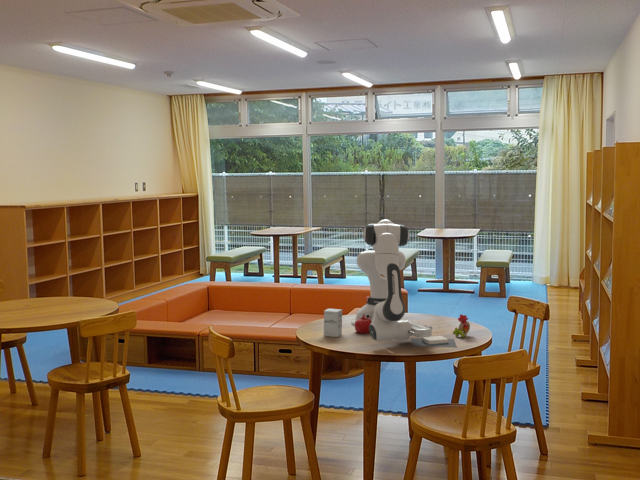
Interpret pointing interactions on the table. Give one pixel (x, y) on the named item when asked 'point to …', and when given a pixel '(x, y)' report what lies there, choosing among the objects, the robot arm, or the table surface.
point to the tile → (434, 340)
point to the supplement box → (333, 322)
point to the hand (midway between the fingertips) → (430, 327)
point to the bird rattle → (462, 326)
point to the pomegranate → (363, 325)
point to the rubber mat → (421, 344)
